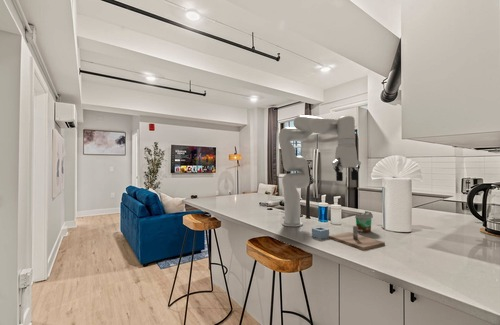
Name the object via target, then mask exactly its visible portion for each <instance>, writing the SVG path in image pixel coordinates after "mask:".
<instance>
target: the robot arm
mask: <svg viewBox="0 0 500 325" xmlns="http://www.w3.org/2000/svg"><path fill="white" fill-rule="evenodd" d="M355 121H356V120H355V117H354V116H351V115H346V116H345V115H343V116H340V117H338V118H335V119H334V118H326V117H323V118H322V117H318V116H314V115H297V116H296V117H295V118H294V120H293V126H294V127H293V126H292V127H291V126H290V127H289V126H287V127H284V128H282V129H280V131H279V133H278V144H279V147H280V150H281V160H282V167H283V169H284V170H285V172H288V173H286V174H285V175H283V177H282V179H281V181H282V188H283V198H284V200H283V201H284V204H283V205H284V208H283V209H284V215H283V216H282V219H283V221H282V222H281V224H282V226H286V227H291V228H292V227H293V228H294V227H295V228H296V227H302V226H303V224H304V223H303V222H302V221H301V199H300V198H301V197H300V196H301V194H300V193H299V191H298V189H304V188H307V187H309V185H310V182H311V181H310V179H311V178H310V172H309V165H308V161H307V159H306V158H305V157H304V156H301V155H296V154H297V153H296V148H295V146H294V145H293V143H292V142H301V143H302V142H305V141H306V140H308V139H309V138H310V136H311V135H312V134H320V135H333V136H337V146H336V149H335V155H334V160H333V161H332V162H331V165H332V168H333V170H334V172H335V173H336V174H335V176H336V178H335V179H336V182H343V181H344V180H343V175H344V174H343V169H347V168H348V169H349V168H350V170H351V174H350V175H351V181H358V180H359V171H360V167H361V164H362V162H361V161H360V160H358V153H357V147H356V129H355V128H356V126H355V125H356V124H355ZM289 172H291V173H289ZM293 172H294V173H293ZM296 172H297V173H296Z"/></svg>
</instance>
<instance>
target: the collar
mask: <svg viewBox="0 0 500 325" xmlns="http://www.w3.org/2000/svg"><path fill="white" fill-rule="evenodd" d="M329 236H330V229H329V228H326V227H322V226H319V227H318V226H317V227H312V228H311V237H314V238H316V239H318V240H322V239H329Z"/></svg>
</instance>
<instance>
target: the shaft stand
mask: <svg viewBox="0 0 500 325" xmlns="http://www.w3.org/2000/svg"><path fill="white" fill-rule="evenodd" d="M358 233H359V232H358V226H356V225H353V226H352V232H351V231H347V232H342V233H337V234H331V235H330V234H329V237H328V239H331V240H333V241H336V242H338V243H342V244H344V245H347V246H350V247H353V248H356V249H359V250H361V251H366V250H371V249H374V248H378V247H383V246H385V244H386V243H385V242H386V241H382V240H378V239H374V238H371V237H368V236H364V235H361V234H358Z"/></svg>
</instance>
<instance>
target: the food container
mask: <svg viewBox="0 0 500 325" xmlns="http://www.w3.org/2000/svg"><path fill="white" fill-rule="evenodd" d="M372 213H373V212H371V211H367V210H365V211H364V212H363V213H355V215H354V216H355V226H358V233H361V234H370V233H371V232H372V219H373V217H374V215H373V214H372Z"/></svg>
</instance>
